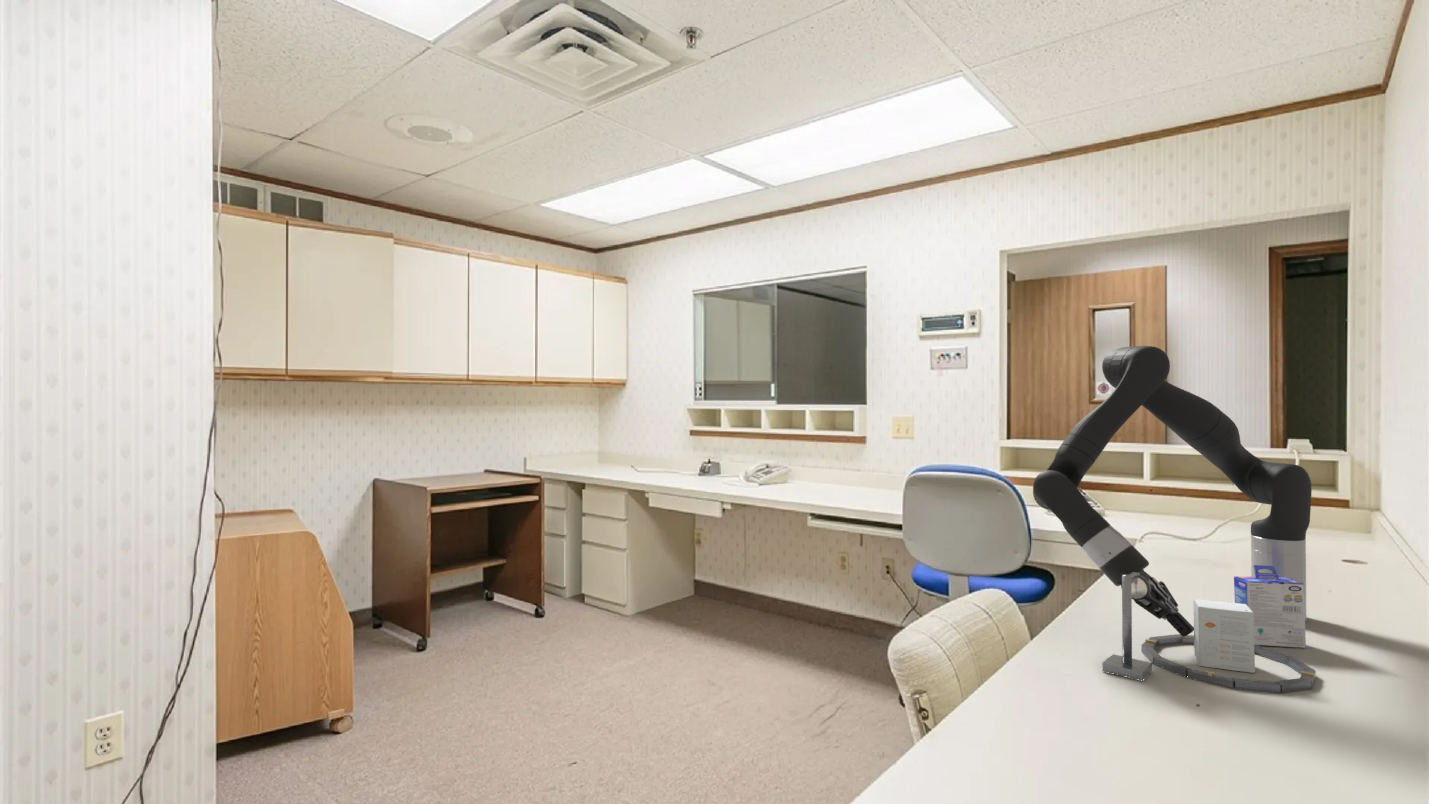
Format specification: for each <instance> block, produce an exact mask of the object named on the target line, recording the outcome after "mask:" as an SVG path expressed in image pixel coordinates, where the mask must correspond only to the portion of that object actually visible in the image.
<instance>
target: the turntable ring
mask: <svg viewBox="0 0 1429 804" xmlns="http://www.w3.org/2000/svg"><path fill="white" fill-rule="evenodd" d="M1177 644H1178V645H1179V644H1187V645H1194V634H1192V635H1190V634H1188V635H1187V636H1185V637H1183V636H1181V635H1180V633H1178V634H1177V633H1176V634H1168V635H1167V634H1166V635H1156V636H1150V637H1149V638H1148V639H1147V638H1146V639H1145V641H1144V642H1143V643H1142V644H1141V653H1142V654H1143V655H1144V656H1145V657H1146V658H1147V659H1148V660H1149V661H1150V663H1152V665H1154V664H1155V665H1154V666H1157V667H1159V668H1162V667H1163V668H1162V669H1164V670H1166V669H1167V671H1169V670H1170V671H1169V672H1171V671H1172V672H1171V673H1174V674H1176V673H1178V674H1177V675H1179V674H1180V675H1179V676H1181V675H1182V676H1181V677H1183V676H1185V677H1184V678H1186V677H1187V676H1188V677H1187V679H1190V678H1191V680H1194V679H1196V680H1195V681H1199V682H1202V683H1208V684H1212V685H1215V684H1216V686H1220V687H1224V688H1228V689H1229V688H1230V689H1235V690H1243V691H1252V692H1253V691H1255V692H1265V693H1275V694H1285V693H1292V692H1300V691H1307V690H1312V689H1313V687H1314V684H1315V681H1316V680H1317V679H1316V678H1317V673H1316V671H1317V670H1315V669H1314V668H1312V667H1310V666H1309V665H1307V664H1306V663H1304V662H1303V661H1302V660H1300V659H1298V658H1297V657H1295V656H1292V655H1290V654H1289V655H1288V654H1286V653H1282V652H1280V651H1277V650H1273V649H1270V648H1268V647H1264V646H1263V645H1254V655H1259V656H1260V657H1265V658H1267V659H1270V660H1273V661H1276V662H1279V663H1281V664H1284V665H1287V666H1288V667H1290V668H1291V669H1293V670H1294V671H1295V672H1297V673H1298V674H1300V677H1298V678H1292V679H1284V680H1277V681H1269V680H1261V679H1260V680H1258V679H1248V678H1247V679H1246V678H1236V677H1228V676H1225V675H1220V674H1215V672H1214V671H1208V672H1207V671H1203V670H1197V669H1194V668H1191V667H1188V666H1185V665H1184V664H1183V665H1182V664H1180V663H1178V662H1176V661H1172V660H1170V659H1168V658H1165V657H1163V656H1162V655H1160V654H1159V653H1158V652H1157V651H1156V649H1158V647H1160V646H1170V645H1177Z"/></svg>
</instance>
